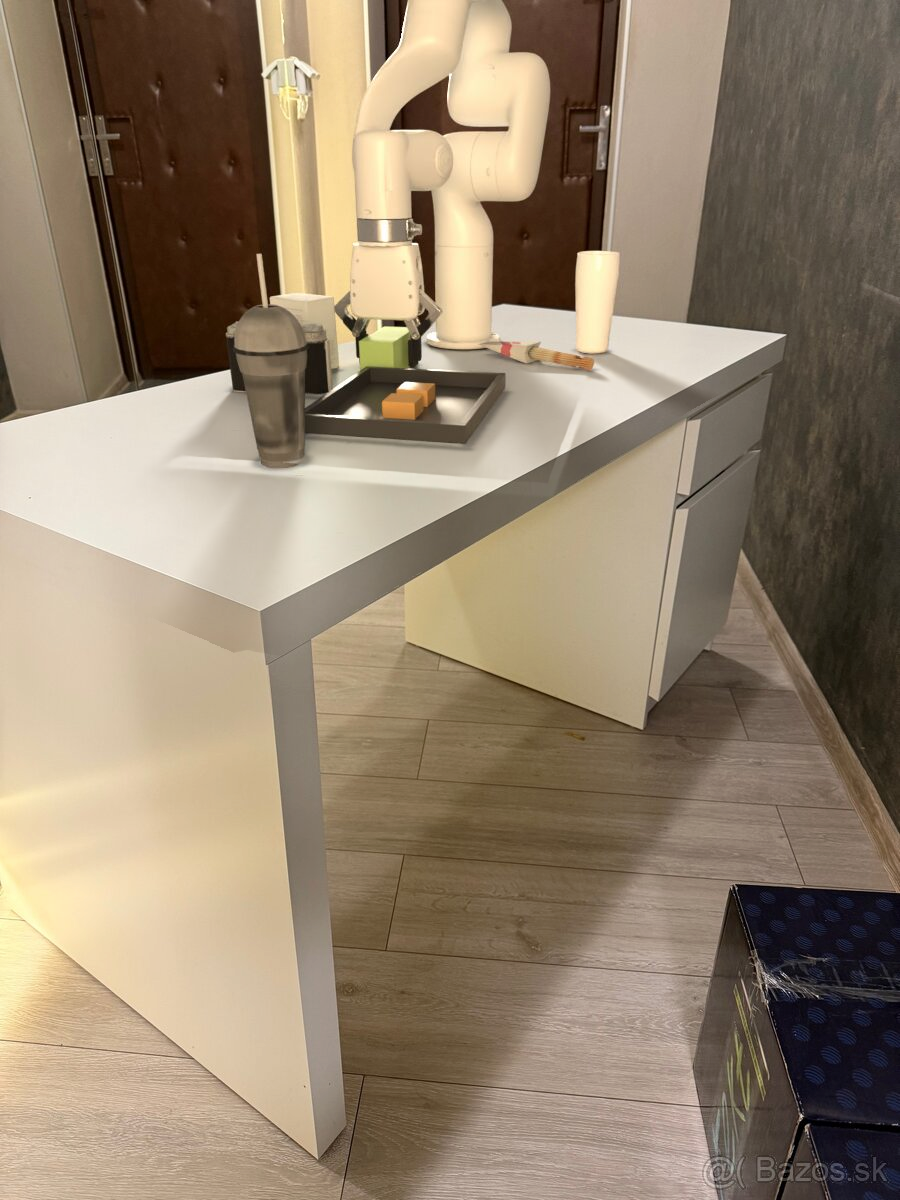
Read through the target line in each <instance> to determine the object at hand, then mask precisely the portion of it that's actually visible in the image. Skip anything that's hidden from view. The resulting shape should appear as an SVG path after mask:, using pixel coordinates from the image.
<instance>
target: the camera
mask: <svg viewBox="0 0 900 1200" xmlns="http://www.w3.org/2000/svg"><path fill="white" fill-rule="evenodd" d="M238 322H239V320H237V321H235V322H234V323H231V325H228V326H227V327H226V331H227V332H226V333H225V338H226V345H227V346H226V347H227V353H228V361H229V369H230V377H231V385H232V391H233V392H237V393H246V390H245V385H244V380H243V375H242V372H241V371H240V368H239V365H238V362H237V357H236V353H235V352H234V350H233V349H234V345H235V343H234V337H235V331H236V327H237V324H238ZM302 329H303V331H304V334H305V337H306V343H307V344H308V349H307V364H306V369H305V394H309V395H324V394H326V393H328V392H329V391H331V390H332V389H333V375H332V369H331V360H330V345H329V340H327V337H326V329H323V325H321V324H306V325H303V326H302Z"/></svg>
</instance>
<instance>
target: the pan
mask: <svg viewBox="0 0 900 1200" xmlns="http://www.w3.org/2000/svg"><path fill="white" fill-rule="evenodd" d="M506 375H507V374H506V373H505V372H490V371H472V370H471V371H469V370H451V369H450V370H449V369H429V368H410V367H408V368H392V367H372V366H366V367H365V368H363V369H362V370H359V371H357V372H355V373H354V374H353V375H351V376H350V377H348V378H347V379H345V380H344V381H342V382H341V383H339V384H338V385H337V386H335V387H334V388H332V390H331V391H329V392H327V393H324V394H322V396H321V397H319V398H317V399H316V400H314V401H313V402H311V403H310V404H308V405H307V406H305V434H309V435H310V434H311V435H324V436H325V435H326V436H327V435H328V436H339V437H340V436H342V437H354V438H355V437H357V438H369V439H384V440H399V441H400V440H401V441H411V442H412V441H414V442H427V443H443V444H455V445H456V444H457V445H466V444H467V443H468V441H469V440H470V438H471V437H472V436H473V434H474V433H475V431H476V430H477V429H478V427H479V425H480V424H481V423H482V422H483V420H484V419H485V417H486V416H487V415H488V413H489V412H490V410H491V409H492V407H494V405H495V404H496V402H497V401H498V399H499V398H500V397H501V395H502V394H503V393H504V391H505V389H506ZM405 382H414V383H433V384H435V400H434V401H433V402H432V403H431V404H430V405H429V406H428V407H423V412H422V413H421V414H420V415H419V416H418V417H417V418H416V419H415V420H409V419H393V418H383V414H382V401H383V400H384V399H385V398H387V397H388V396H389V395H390V394H391V393H396V389H397V388H399V387H400V386H401V385H402V384H403V383H405ZM396 394H397V393H396Z"/></svg>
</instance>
